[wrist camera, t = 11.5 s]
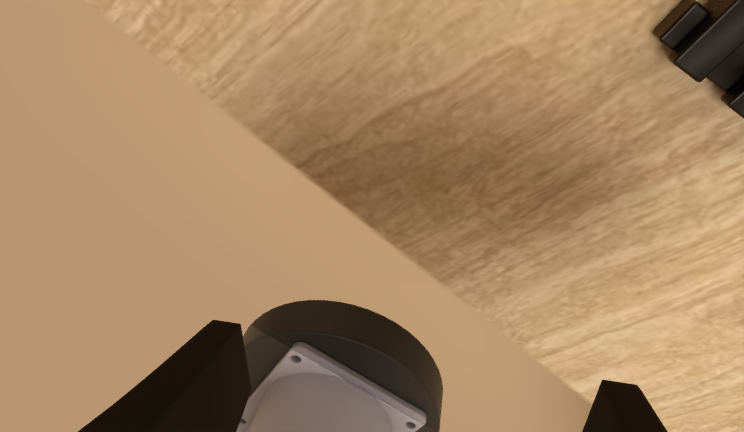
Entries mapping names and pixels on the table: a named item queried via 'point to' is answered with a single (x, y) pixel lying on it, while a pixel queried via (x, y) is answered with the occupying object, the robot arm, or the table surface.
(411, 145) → the table surface
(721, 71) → the drying rack
